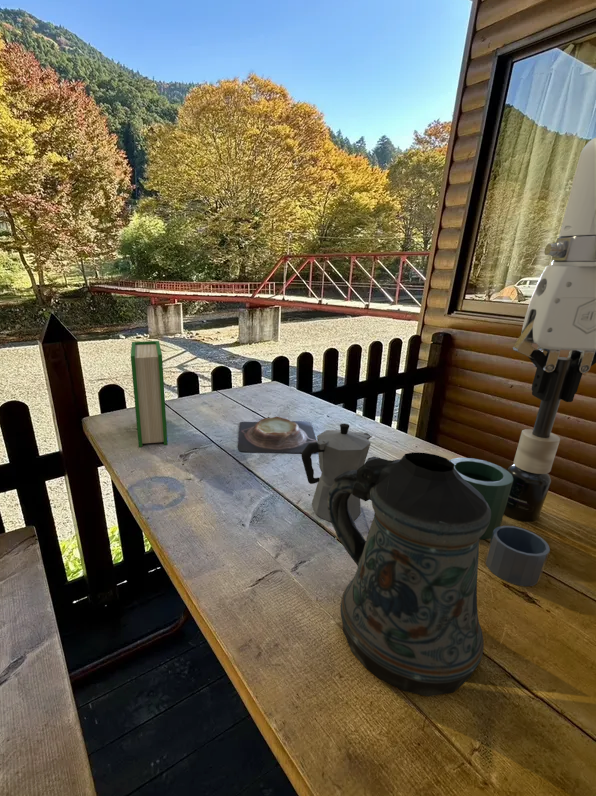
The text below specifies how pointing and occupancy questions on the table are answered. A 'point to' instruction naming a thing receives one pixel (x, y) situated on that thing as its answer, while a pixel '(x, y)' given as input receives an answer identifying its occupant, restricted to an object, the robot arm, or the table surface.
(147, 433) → the hardback book
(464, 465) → the jar
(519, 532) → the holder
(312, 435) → the quiche
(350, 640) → the beer stein
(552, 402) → the brush
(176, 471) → the table surface
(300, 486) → the table surface
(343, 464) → the coffeepot
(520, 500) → the supplement bottle
